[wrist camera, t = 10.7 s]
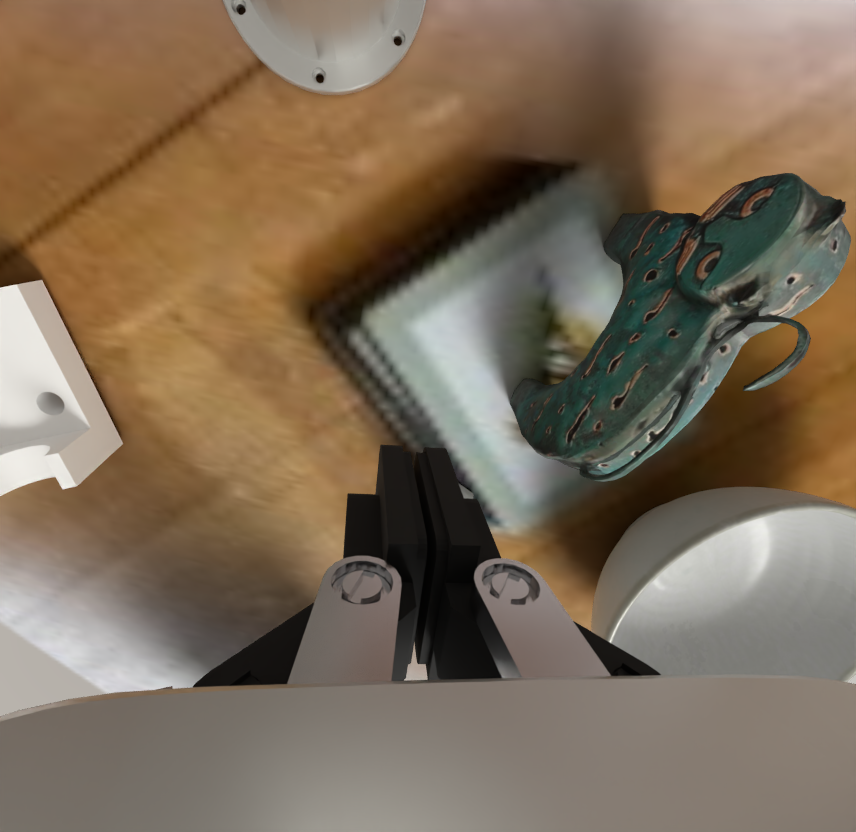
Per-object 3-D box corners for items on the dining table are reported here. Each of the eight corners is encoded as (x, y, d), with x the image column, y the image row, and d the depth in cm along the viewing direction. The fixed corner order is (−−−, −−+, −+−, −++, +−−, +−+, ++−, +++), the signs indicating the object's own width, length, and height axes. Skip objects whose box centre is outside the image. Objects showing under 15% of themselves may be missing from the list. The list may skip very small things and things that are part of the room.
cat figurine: (625, 184, 36) (902, 144, 17) (685, 229, 37) (993, 237, 19) (488, 402, 41) (587, 549, 23) (546, 432, 43) (682, 589, 25)
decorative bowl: (642, 673, 58) (708, 781, 47) (496, 567, 48) (535, 671, 37) (828, 530, 52) (952, 614, 41) (703, 381, 43) (821, 436, 32)
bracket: (128, 438, 39) (76, 486, 32) (41, 456, 38) (-31, 509, 31) (50, 278, 33) (-33, 293, 26) (-52, 297, 33) (-162, 318, 26)
